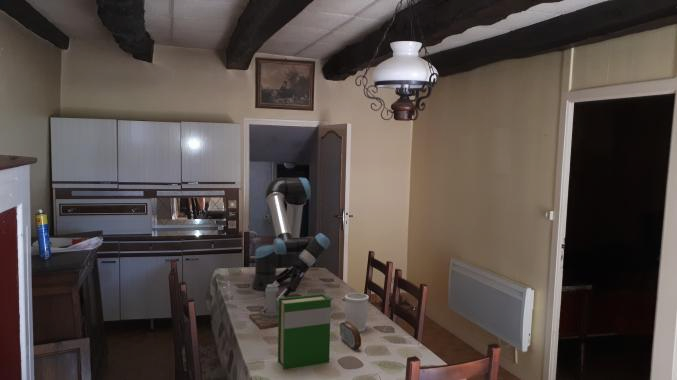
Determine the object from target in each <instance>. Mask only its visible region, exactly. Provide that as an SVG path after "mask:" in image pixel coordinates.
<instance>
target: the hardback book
mask: <svg viewBox="0 0 677 380" xmlns="http://www.w3.org/2000/svg"><path fill="white" fill-rule="evenodd" d="M331 303H332V301H331V298H329V296H327V295H325V294H324V293H320V294H319V293H318V294H310V295H309V294H308V295H300V296H297V295H296V296H290V297H289V296H287V297H286V298H279V311H278V328H277V330H278V331H277V362H278V363H281V364H282V369H283V371H285V370H291V369H297V368H305V367H310V366H315V365H320V364H321V365H322V364H328V363H330V352H331V351H330V350H331V349H330V347H331V346H330V344H331V310H332V309H331V308H332V307H331Z"/></svg>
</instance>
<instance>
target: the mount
mask: <svg viewBox="0 0 677 380" xmlns="http://www.w3.org/2000/svg"><path fill="white" fill-rule="evenodd" d="M248 318H249V319H250V320H251V321H252V322H253V323H254V324H255V325H256V326H257V327H258V329H260V330H265V329H272V328H277V327H278V313H277V314H265V308H262V309H261V310H260V311H259V312H258V313H253V314H249V315H248Z"/></svg>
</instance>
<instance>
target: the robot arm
mask: <svg viewBox="0 0 677 380" xmlns="http://www.w3.org/2000/svg"><path fill="white" fill-rule="evenodd" d="M311 191H312V190H311V185H310V182H309V180H308V179H307V178H306V177H300V176H299V177H278V178H275V179H273V180H272V181H271V182H270V183H269V184H268V186H267V187H266V190H265V202H266V203H267V204H268V206H269V210H270V214H271V215H270V216H271V218H272V219H271V220H272V223H273V228H274V231H275V232H274V233H275V238H274V240H273V244H268V245H267V244H266V245H262V246H260V247H258V248H256V249H255V255H254V258H255V260H254V261H255V267H254V269H255V270H254V271H255V272H254V277H253V280H252V281H251V282H252V283H251V288H252V289H253V290H255V291H261V292H265V289H266V287H267V285H269V284H276V285H277V287H278V289H279V288H280V285H281V283H282V282H284V281H286V280H287V279H290V280H289V282H288V286H286V287H285V289H284V290H283V291H282V292H281V293H280V294H279V297H278V298H277V299H276V300H277V301H278V302H279V298H287V297H289V294H291V293H295V292H296V291H297V289H298V288H299V287H298V286H299V284H301V281H302V279H303V278H304V277H305V274H306V273H307V271H309V269H310V267H312V266H313V264H315V262H316V261H317V260H318V259H319V258H320V257H321V255H323V253H324V252H325V251H326V250H327V249H328V247H329V246H330V245H331V241H330V239H329V237H327V236H326V235H324V234H323V233H321V232H319V233H317V234H316V235H315V237H314V236H306V237H305V236H304V237H300V234H301V227H302V216H303V209H304V205H306V204H307V200H310V199H311V195H312V193H311ZM285 203H286V206H287V207H285ZM277 269H284V270H283V271H281V272H280V273H279V274H277Z"/></svg>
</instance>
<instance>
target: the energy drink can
mask: <svg viewBox="0 0 677 380" xmlns="http://www.w3.org/2000/svg"><path fill="white" fill-rule="evenodd" d="M279 291H280V289H279V288H278V287H277V285H276V284H269V285H267V287H266V289H265V291H264V293H265V296H264V299H265V300H264V301H265V302H264V304H265V305H264V306H265V307H264V309H265V314H277V313H278V311H279V302H278V301H277V300H276V299H277V298H278V297H279V296H280V294H279Z"/></svg>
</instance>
